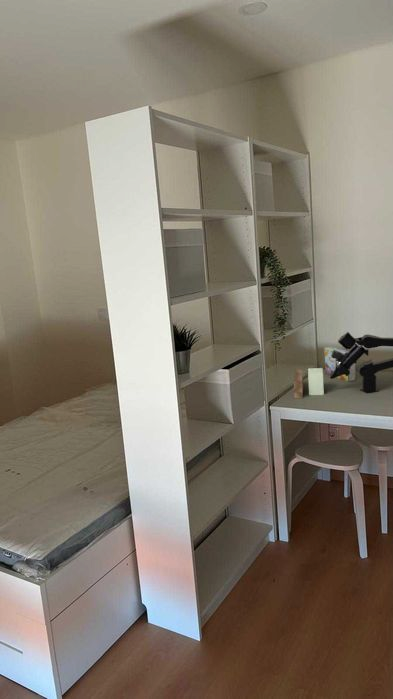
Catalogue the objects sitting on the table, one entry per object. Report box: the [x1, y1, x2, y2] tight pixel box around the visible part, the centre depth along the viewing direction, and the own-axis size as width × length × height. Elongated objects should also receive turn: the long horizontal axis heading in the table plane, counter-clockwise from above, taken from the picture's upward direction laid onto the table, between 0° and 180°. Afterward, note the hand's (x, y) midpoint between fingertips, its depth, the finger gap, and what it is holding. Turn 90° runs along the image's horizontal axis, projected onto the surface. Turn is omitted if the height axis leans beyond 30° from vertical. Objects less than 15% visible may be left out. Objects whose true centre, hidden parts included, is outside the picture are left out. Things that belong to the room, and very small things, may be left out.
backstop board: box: [293, 369, 304, 399], centre depth 269 cm, size 4×20×9 cm, turn 168°
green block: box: [307, 367, 325, 396], centre depth 267 cm, size 7×10×11 cm
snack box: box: [323, 346, 357, 382], centre depth 290 cm, size 21×6×15 cm, turn 21°
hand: (330, 378), depth 265 cm, fingers closed
